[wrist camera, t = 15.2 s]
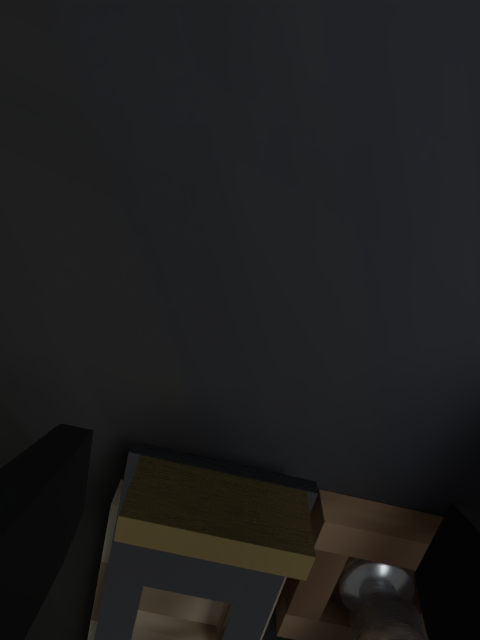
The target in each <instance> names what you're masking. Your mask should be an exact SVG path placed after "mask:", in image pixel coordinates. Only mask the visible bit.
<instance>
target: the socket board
mask: <svg viewBox="0 0 480 640" xmlns="http://www.w3.org/2000/svg"><path fill="white" fill-rule="evenodd" d="M122 486H123V480H120V483H119V485H118V488H117V490H116V493H115V496H114V498H113V501H112V503H111V508H110V513H109V519H108V525H107V531H106V536H105V542H104V548H103V553H102V559H101V565H100V571H99V576H98V582H97V588H96V593H95V599H94V605H93V611H92V616H91V622H90V628H89V633H88V639H87V640H94V638H95V633H96V627H97V622H98V616H99V611H100V606H101V600H102V595H103V589H104V584H105V578H106V573H107V567H108V562H109V557H110V551H111V546H112V540H113V535H114V529H115V524H116V518H117V513H118V508H119V502H120V497H121V491H122ZM286 578H287V577H285V578H284V580H283V583H282V585H281V588H280V590H279V593H278V595H277V598H276V600H275V603H274V605H273V608H272V611H271V613H270V616H269V618H268V621H267V623H266V626H265V628H264V631H263V633H262V636H261V638H260V640H262V638H263V636H264V633H265V631H266V628H267V626H268V623H269V621H270V618H271V616H272V613H273V611H274V608H275V606H276V603H277V601H278V598H279V596H280V593H281V591H282V588H283V586H284V583H285V581H286ZM229 607H230V604H229V603H224V602H219V601H214V600H209V599H204V598H199V597H194V596H189V595H184V594H179V593H174V592H169V591H165V590H160V589H155V588H150V587H145V586H144V587H143V591H142V595H141V600H140V604H139V608H138V612H137V617H136V621H135V625H134V630H133V634H132V638H131V640H218V639H219V636H220V633H221V630H222V627H223V624H224V621H225V618H226V615H227V613H228V610H229Z"/></svg>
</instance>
